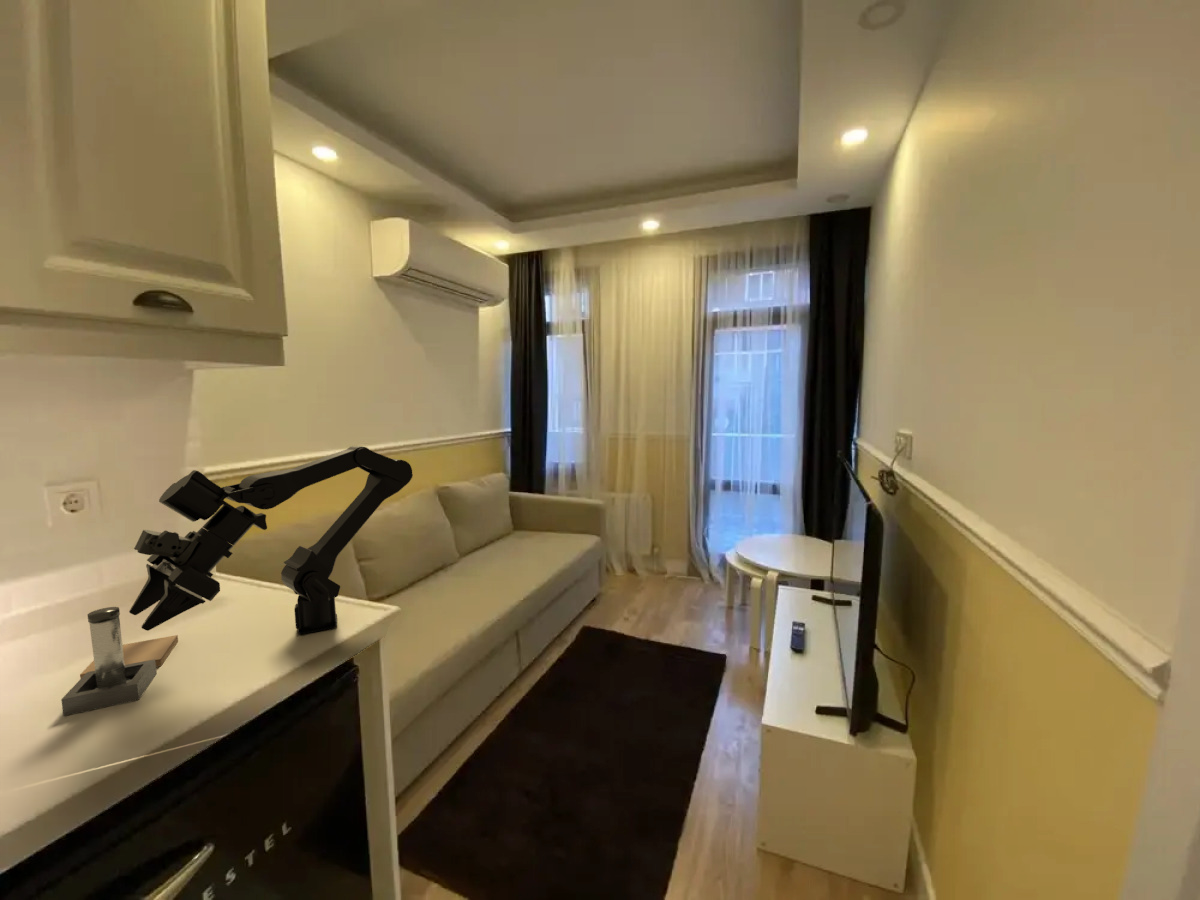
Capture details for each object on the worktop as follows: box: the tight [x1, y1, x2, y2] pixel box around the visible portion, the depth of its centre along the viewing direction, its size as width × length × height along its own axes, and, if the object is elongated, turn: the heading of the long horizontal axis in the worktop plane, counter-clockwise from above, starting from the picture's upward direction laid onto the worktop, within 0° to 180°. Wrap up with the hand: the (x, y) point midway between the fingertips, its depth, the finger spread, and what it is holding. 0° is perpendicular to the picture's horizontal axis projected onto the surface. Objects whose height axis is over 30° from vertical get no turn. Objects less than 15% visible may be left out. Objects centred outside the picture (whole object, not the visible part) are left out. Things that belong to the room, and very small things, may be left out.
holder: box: [60, 659, 157, 717], centre depth 77 cm, size 8×8×2 cm
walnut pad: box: [79, 634, 179, 679], centre depth 87 cm, size 10×10×1 cm
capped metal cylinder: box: [87, 606, 132, 689], centre depth 76 cm, size 5×5×13 cm
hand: (137, 621), depth 79 cm, fingers open, 9 cm apart
